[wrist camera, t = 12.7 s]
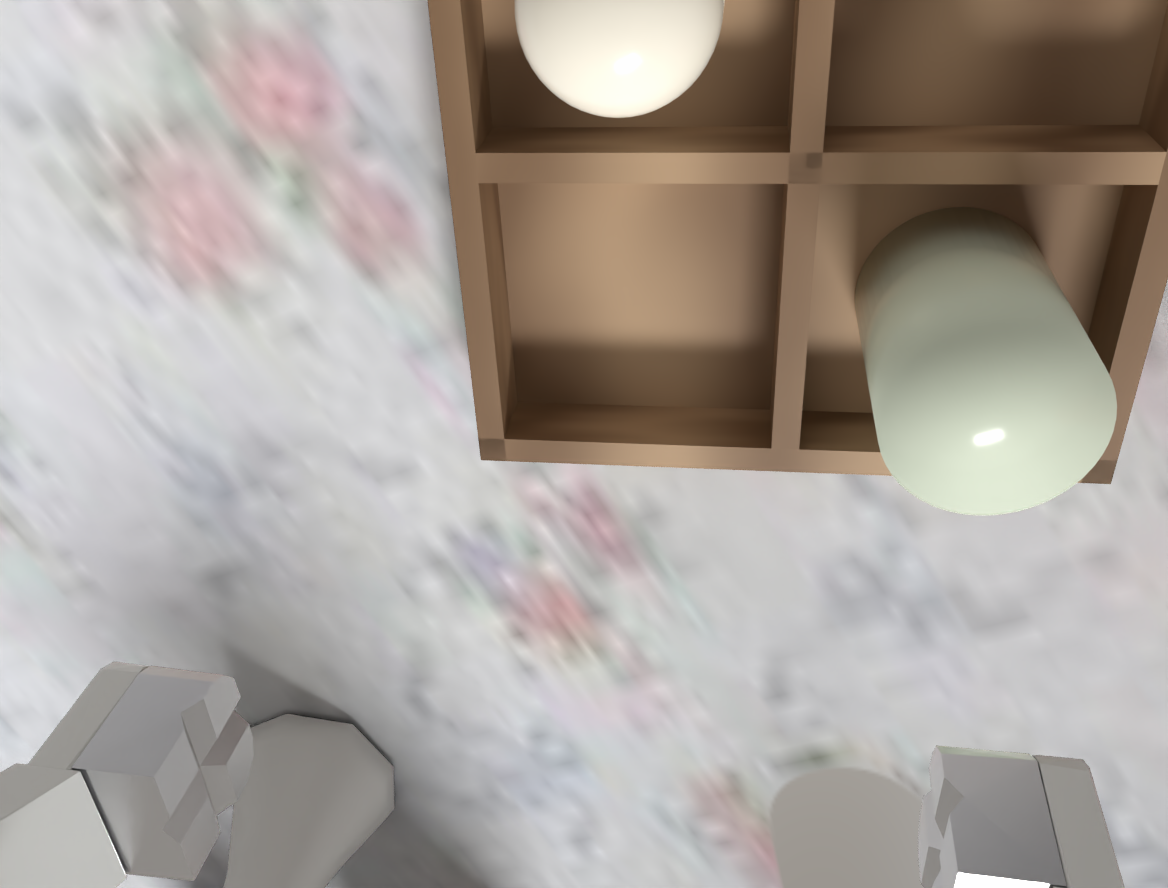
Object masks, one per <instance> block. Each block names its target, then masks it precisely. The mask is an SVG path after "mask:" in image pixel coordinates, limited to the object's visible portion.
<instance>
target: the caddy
mask: <svg viewBox="0 0 1168 888" xmlns="http://www.w3.org/2000/svg"><path fill="white" fill-rule="evenodd" d="M428 8H429V17H430V25H431V34H432V43H433V51H434V60H435V68H436V77H437V86H438V94H439V103H440V112H441V120H442V129H443V137H444V146H445V155H446V163H447V172H448V180H449V189H450V198H451V206H452V215H453V223H454V232H455V241H456V249H457V258H458V267H459V275H460V284H461V292H462V301H463V310H464V318H465V327H466V335H467V344H468V353H469V361H470V370H471V378H472V387H473V396H474V404H475V413H476V421H477V430H478V439H479V447H480V456H481V460H493V461H520V462H546V463H572V464H599V465H625V466H651V467H677V468H704V469H730V470H756V471H783V472H809V473H835V474H862V475H888V476H892V474H891V473H890V471H889V470H888V468H887V466H886V465H885V462H884V460H883V458H882V455H881V452H880V448H879V444H878V439H877V433H876V427H875V421H874V416H873V410H872V404H871V398H870V393H869V387H868V381H867V375H866V369H865V364H864V358H863V352H862V346H861V340H860V335H859V329H858V323H857V317H856V311H855V290H856V285H857V280H858V277H859V275H860V272H861V269H862V267H863V265H864V263H865V261H866V259H867V258H868V256H869V255H870V254H871V252H872V251H873V249H874V248H875V247H876V246H877V245H878V244H879V242H880V241H881V240H882V239H883V238H884V237H886V236H887V235H888V234H889V233H890V232H891V231H893V230H894V229H895V228H897V227H898V226H900V225H901V224H903V223H905V222H907V221H908V220H910V219H912V218H914V217H917V216H919V215H922V214H924V213H927V212H930V211H934V210H938V209H944V208H951V207H972V208H980V209H984V210H989V211H992V212H995V213H998V214H1000V215H1003V216H1005V217H1006V218H1008V219H1010V220H1012V221H1014V222H1015V223H1016V224H1018V225H1019V226H1020V227H1022V228H1023V229H1024V230H1025V231H1026V232H1027V233H1028V234H1029V235H1030V237H1031V238H1032V239H1033V241H1034V242H1035V243H1036V245H1037V247H1038V248H1039V250H1040V252H1041V254H1042V255H1043V257H1044V259H1045V261H1046V263H1047V264H1048V266H1049V268H1050V270H1051V271H1052V273H1053V275H1054V277H1055V279H1056V280H1057V282H1058V284H1059V286H1060V287H1061V289H1062V291H1063V293H1064V295H1065V296H1066V298H1067V300H1068V302H1069V303H1070V305H1071V307H1072V309H1073V311H1074V312H1075V314H1076V316H1077V318H1078V319H1079V321H1080V323H1081V325H1082V327H1083V328H1084V330H1085V332H1086V334H1087V335H1088V337H1089V339H1090V341H1091V343H1092V344H1093V346H1094V348H1095V350H1096V351H1097V353H1098V355H1099V357H1100V359H1101V360H1102V362H1103V364H1104V366H1105V367H1106V369H1107V371H1108V373H1109V375H1110V377H1111V379H1112V382H1113V386H1114V389H1115V392H1116V401H1117V415H1116V422H1115V427H1114V431H1113V434H1112V436H1111V439H1110V442H1109V444H1108V446H1107V448H1106V449H1105V451H1104V453H1103V455H1102V456H1101V458H1100V459H1099V460H1098V462H1097V463H1096V464H1095V466H1094V467H1093V468H1092V469H1091V470H1090V471H1089V472H1088V473H1087V474H1086V475H1085V476H1084V477H1083V478H1082V479H1081V480H1080V481H1079V482H1077V483H1098V484H1111V481H1112V477H1113V474H1114V470H1115V467H1116V463H1117V459H1118V456H1119V452H1120V449H1121V445H1122V441H1123V438H1124V434H1125V431H1126V427H1127V423H1128V420H1129V416H1130V413H1131V409H1132V405H1133V402H1134V398H1135V394H1136V391H1137V387H1138V384H1139V380H1140V376H1141V373H1142V369H1143V366H1144V362H1145V358H1146V355H1147V351H1148V348H1149V344H1150V340H1151V337H1152V333H1153V330H1154V326H1155V322H1156V319H1157V315H1158V312H1159V308H1160V304H1161V301H1162V297H1163V293H1164V290H1165V286H1166V283H1167V279H1168V0H725V2H724V12H723V21H722V26H721V31H720V35H719V38H718V41H717V44H716V47H715V50H714V52H713V54H712V56H711V58H710V60H709V62H708V64H707V66H706V67H705V69H704V70H703V72H702V73H701V75H700V76H699V77H698V78H697V80H696V81H695V82H694V83H693V84H692V85H691V87H689V88H688V89H687V90H686V91H685V92H684V93H683V94H682V95H680V96H679V97H677V98H676V99H675V100H673V101H672V102H670V103H669V104H667V105H665V106H663V107H661V108H659V109H657V110H655V111H652V112H649V113H646V114H643V115H639V116H634V117H625V118H611V117H602V116H597V115H593V114H590V113H587V112H584V111H581V110H579V109H577V108H575V107H573V106H570V105H569V104H567V103H566V102H564V101H563V100H561V99H560V98H558V97H557V96H556V95H555V94H553V93H552V92H551V91H550V90H549V89H548V88H547V87H546V86H545V85H544V84H543V83H542V82H541V81H540V79H539V78H538V77H537V75H536V74H535V72H534V71H533V70H532V68H531V66H530V64H529V62H528V61H527V59H526V57H525V55H524V52H523V49H522V47H521V44H520V41H519V37H518V33H517V28H516V21H515V0H428Z"/></svg>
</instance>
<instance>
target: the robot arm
mask: <svg viewBox="0 0 1168 888" xmlns="http://www.w3.org/2000/svg"><path fill="white" fill-rule="evenodd" d="M240 698H241V696H240V693H239V690H238V687H237V685H236V682H235V679H234V678H233V677H230V676H226V675H220V674H212V673H204V672H197V671H189V670H181V669H173V668H165V667H158V666H146V665H138V664H129V663H121V662H112V663H110V664H109V665H107V666H105V667H103V668H102V669H101V670H100V671H99V672H98V673H97V674H96V676H95V677H94V678H93V680H92V681H91V682H90V684H89V685H88V686H87V687H86V689H85V690H84V691H83V693H82V694H81V695H80V697H79V698H78V699H77V701H76V702H75V703H74V704H73V706H72V707H71V708H70V710H69V711H68V712H67V714H66V715H65V716H64V718H63V719H62V720H61V721H60V723H59V724H58V725H57V727H56V728H55V729H54V731H53V732H52V733H51V735H50V736H49V737H48V738H47V740H46V741H45V742H44V744H43V745H42V746H41V748H40V749H39V750H38V752H37V753H36V754H35V755H34V757H33V758H32V759H31V761H30V762H29V763H28V764H17V763H16V764H14V765H13V766H11V767H9V768H8V769H6V770H4V771H2V772H1V773H0V888H116V887H117V886H119V885H120V884H121V883H122V882H123V881H125V880H126V879H127V875H126V874H131V875H141V876H150V877H160V878H169V879H179V880H188V881H195V879H196V877H197V876H198V874H199V872H200V870H201V868H202V866H203V864H204V863H205V861H206V859H207V857H208V855H209V853H210V851H211V850H212V848H213V846H214V844H215V842H216V840H217V838H218V837H219V835H220V828H219V823H218V819H217V815H218V814H220V813H221V812H223V811H224V810H225V809H227V808H228V807H230V806H231V805H233V804H234V803H235V802H237V801H238V799H239V797H240V795H241V793H242V791H243V789H244V787H245V785H246V783H247V781H248V778H249V774H250V769H251V765H252V761H253V757H254V752H253V736H252V732H251V729H250V725H249V723H248V722H247V721H246V720H245V719H244V718H243V717H241V716H240V715H239V714H238V713H237V712H236V711H235V710H234V709H235V707H236V705H237V703H238V702H239V700H240ZM929 775H930V784H931V791H930V792H929V793H927V794H926V795H924V796H923V800H922V806H921V813H920V819H919V835H918V854H919V868H920V879H921V884H922V886H923V887H924V888H1125V887H1124V884H1123V880H1122V877H1121V873H1120V870H1119V867H1118V863H1117V860H1116V856H1115V853H1114V849H1113V846H1112V843H1111V839H1110V836H1109V832H1108V829H1107V825H1106V822H1105V819H1104V815H1103V812H1102V808H1101V805H1100V801H1099V798H1098V795H1097V791H1096V788H1095V784H1094V781H1093V777H1092V774H1091V771H1090V768H1089V766H1088V765H1087V764H1086V763H1085V761H1084V760H1083V759H1073V758H1063V757H1052V756H1042V755H1032V756H1031V755H1030V754H1026V753H1015V752H1003V751H992V750H981V749H970V748H959V747H947V746H936V747H935V749H934V751H933V753H932V757H931V761H930V766H929Z"/></svg>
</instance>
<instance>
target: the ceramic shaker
mask: <svg viewBox="0 0 1168 888" xmlns="http://www.w3.org/2000/svg"><path fill="white" fill-rule="evenodd" d="M724 2H725V0H515V21H516V28H517V33H518V37H519V41H520V44H521V47H522V49H523V52H524V55H525V57H526V59H527V61H528V62H529V64H530V66H531V68H532V70H533V71H534V72H535V74H536V75H537V77H538V78H539V79H540V81H541V82H542V83H543V84H544V85H545V86H546V87H547V88H548V89H549V90H550V91H551V92H552V93H553V94H555V95H556V96H557V97H558V98H560V99H561V100H563V101H564V102H566V103H567V104H569V105H570V106H573V107H575V108H577V109H579V110H581V111H584V112H587V113H590V114H593V115H597V116H602V117H611V118H625V117H634V116H639V115H643V114H646V113H649V112H652V111H655V110H657V109H659V108H661V107H663V106H665V105H667V104H669V103H670V102H672V101H673V100H675V99H676V98H677V97H679V96H680V95H682V94H683V93H684V92H685V91H686V90H687V89H688V88H689V87H691V85H692V84H693V83H694V82H695V81H696V80H697V78H698V77H699V76H700V75H701V73H702V72H703V70H704V69H705V67H706V66H707V64H708V62H709V60H710V58H711V56H712V54H713V52H714V50H715V47H716V44H717V41H718V38H719V35H720V31H721V26H722V21H723V12H724Z"/></svg>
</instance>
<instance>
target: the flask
mask: <svg viewBox="0 0 1168 888" xmlns="http://www.w3.org/2000/svg"><path fill="white" fill-rule="evenodd" d="M250 729H251V732H252V736H253V752H254V757H253V761H252V765H251V769H250V774H249V778H248V781H247V783H246V785H245V787H244V789H243V791H242V793H241V795H240V797H239V799H238V801H237V802H235V803H234V804H233V816H232V827H231V837H230V848H229V858H228V869H227V875H226V879H225V883H224V887H223V888H325V887H326V885H327V884H328V883H329V882H330V881H331V879H332V878H333V877H334V876H335V875H336V874H337V872H338V871H339V870H340V869H341V868H342V867H343V865H344V864H345V863H346V862H347V861H348V860H349V859H350V857H351V856H352V855H353V854H354V853H355V852H356V851H357V850H358V849H359V848H360V847H361V846H362V845H363V843H364V842H365V841H366V840H367V839H368V838H369V837H370V836H371V835H372V834H373V833H374V832H375V830H376V829H377V828H378V827H379V826H380V825H381V824H382V823H383V822H384V821H385V819H386V818H387V817H388V816H389V815H390V814H391V812H392V811H393V810H394V809H395V804H394V767H393V766H392V765H391V764H390V763H389V761H388V760H387V759H386V758H385V757H384V756H383V755H382V754H381V753H380V752H379V751H378V750H377V749H376V748H375V747H374V746H373V745H372V744H371V743H370V742H369V741H368V740H367V739H366V738H365V737H364V736H363V735H362V733H361V732H360V731H359V730H358V729H357V728H356V727H355V726H354V725H353V724H347V723H341V722H335V721H329V720H323V719H316V718H310V717H304V716H298V715H292V714H284V715H282V716H279V717H277V718H274V719H272V720H269V721H267V722H264V723H261V724H259V725H256V726H254V727H251V728H250Z"/></svg>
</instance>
